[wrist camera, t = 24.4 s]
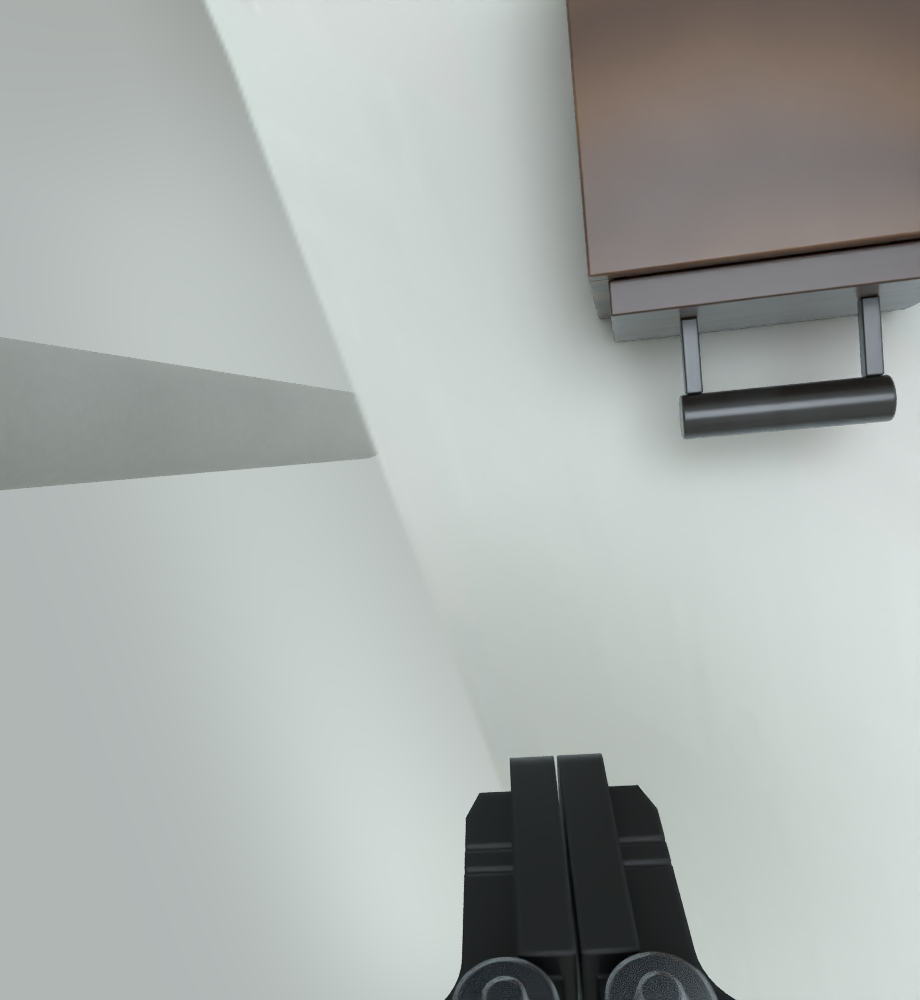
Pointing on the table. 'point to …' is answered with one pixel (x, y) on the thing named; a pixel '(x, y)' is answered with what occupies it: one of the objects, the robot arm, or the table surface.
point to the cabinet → (742, 130)
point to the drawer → (774, 300)
